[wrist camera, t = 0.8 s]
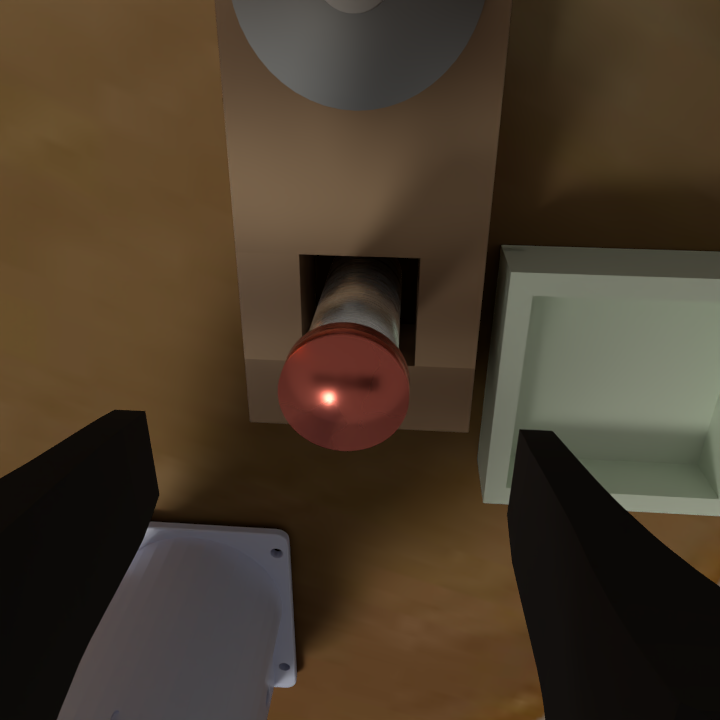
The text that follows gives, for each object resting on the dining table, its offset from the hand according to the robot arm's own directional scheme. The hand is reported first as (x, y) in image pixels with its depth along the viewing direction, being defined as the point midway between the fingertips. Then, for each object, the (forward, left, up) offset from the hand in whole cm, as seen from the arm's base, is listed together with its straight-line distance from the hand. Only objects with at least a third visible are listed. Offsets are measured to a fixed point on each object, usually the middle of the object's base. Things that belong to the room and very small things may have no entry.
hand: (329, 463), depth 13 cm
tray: (-3, -8, -10) cm, 14 cm away
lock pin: (0, 0, -10) cm, 10 cm away
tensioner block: (+4, 0, -10) cm, 11 cm away
